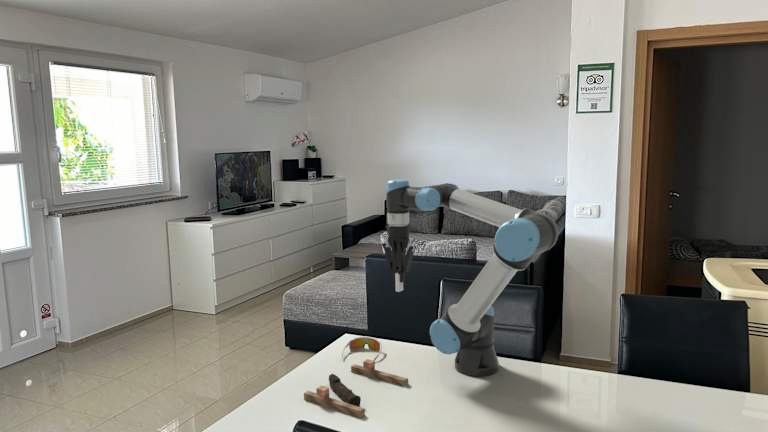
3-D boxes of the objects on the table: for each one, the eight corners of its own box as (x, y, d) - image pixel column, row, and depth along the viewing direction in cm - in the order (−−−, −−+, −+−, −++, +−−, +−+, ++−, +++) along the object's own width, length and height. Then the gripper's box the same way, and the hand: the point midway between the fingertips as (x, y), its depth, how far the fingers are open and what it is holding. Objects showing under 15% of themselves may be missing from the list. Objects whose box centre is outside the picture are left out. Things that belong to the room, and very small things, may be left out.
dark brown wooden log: (361, 407, 173) (361, 393, 172) (349, 410, 171) (348, 396, 170) (337, 383, 189) (337, 370, 189) (326, 386, 188) (326, 372, 187)
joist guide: (408, 384, 187) (408, 369, 187) (360, 418, 166) (359, 401, 165) (355, 369, 200) (354, 355, 199) (303, 399, 178) (302, 384, 177)
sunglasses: (385, 349, 218) (384, 337, 217) (376, 370, 204) (375, 358, 202) (349, 346, 221) (348, 335, 220) (338, 367, 207) (337, 355, 206)
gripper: (376, 224, 198) (378, 290, 202) (408, 227, 191) (409, 296, 195) (388, 221, 204) (390, 285, 208) (420, 224, 197) (420, 290, 201)
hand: (399, 290), depth 201 cm, fingers closed
